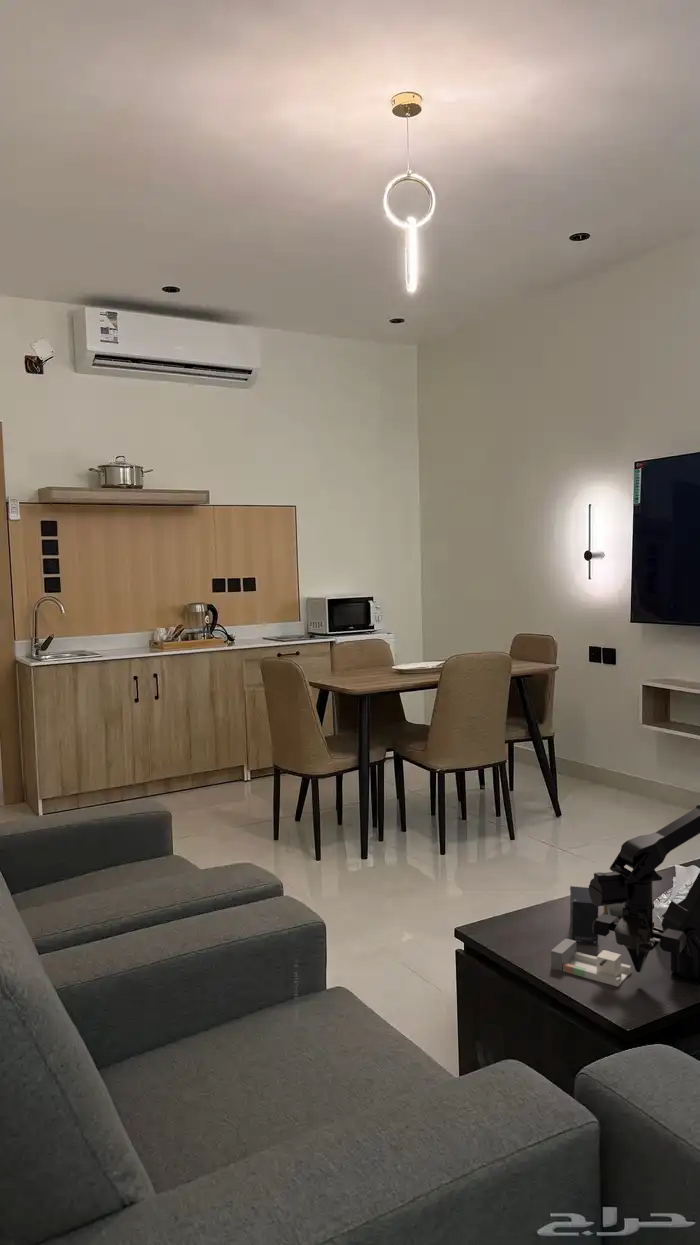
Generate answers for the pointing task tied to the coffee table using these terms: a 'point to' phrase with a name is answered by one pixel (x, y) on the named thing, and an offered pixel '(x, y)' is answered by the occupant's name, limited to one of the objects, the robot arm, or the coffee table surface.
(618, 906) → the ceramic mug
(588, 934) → the small box
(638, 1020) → the coffee table surface
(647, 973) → the coffee table surface
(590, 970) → the base
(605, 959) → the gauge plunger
